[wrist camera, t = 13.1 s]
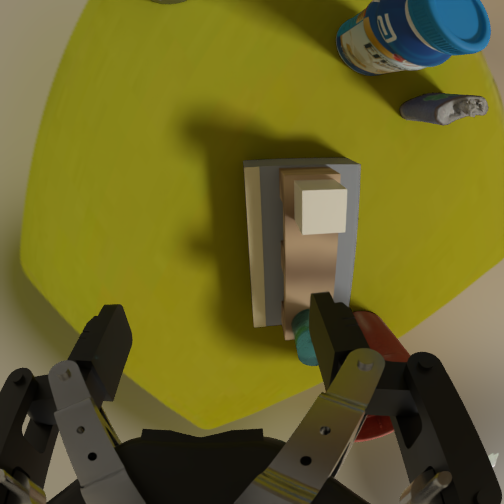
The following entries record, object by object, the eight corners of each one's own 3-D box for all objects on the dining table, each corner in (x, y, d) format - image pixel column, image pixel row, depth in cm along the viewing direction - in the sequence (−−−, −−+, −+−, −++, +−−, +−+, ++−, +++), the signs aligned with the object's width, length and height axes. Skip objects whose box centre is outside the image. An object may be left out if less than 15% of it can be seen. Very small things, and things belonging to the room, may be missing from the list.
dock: (243, 160, 37) (244, 167, 32) (346, 157, 37) (360, 164, 33) (252, 305, 46) (253, 327, 41) (337, 298, 46) (347, 318, 42)
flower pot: (393, 284, 46) (441, 351, 31) (396, 352, 53) (430, 416, 38) (295, 318, 47) (315, 399, 33) (315, 381, 54) (333, 452, 40)
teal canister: (290, 311, 36) (298, 341, 31) (326, 306, 36) (337, 335, 31) (291, 337, 37) (298, 368, 33) (324, 333, 37) (334, 362, 33)
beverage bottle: (395, 28, 29) (496, -6, 11) (391, 84, 33) (499, 80, 15) (335, 11, 29) (412, -53, 11) (330, 69, 32) (415, 38, 14)
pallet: (278, 168, 33) (284, 175, 29) (329, 166, 33) (340, 174, 29) (281, 320, 41) (285, 340, 38) (322, 316, 41) (329, 335, 38)
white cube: (293, 180, 29) (302, 190, 26) (333, 179, 29) (347, 189, 26) (294, 219, 31) (302, 234, 27) (333, 217, 31) (345, 232, 27)
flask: (401, 122, 35) (449, 129, 25) (395, 101, 34) (442, 102, 24) (450, 108, 34) (500, 114, 24) (445, 89, 33) (495, 90, 23)
